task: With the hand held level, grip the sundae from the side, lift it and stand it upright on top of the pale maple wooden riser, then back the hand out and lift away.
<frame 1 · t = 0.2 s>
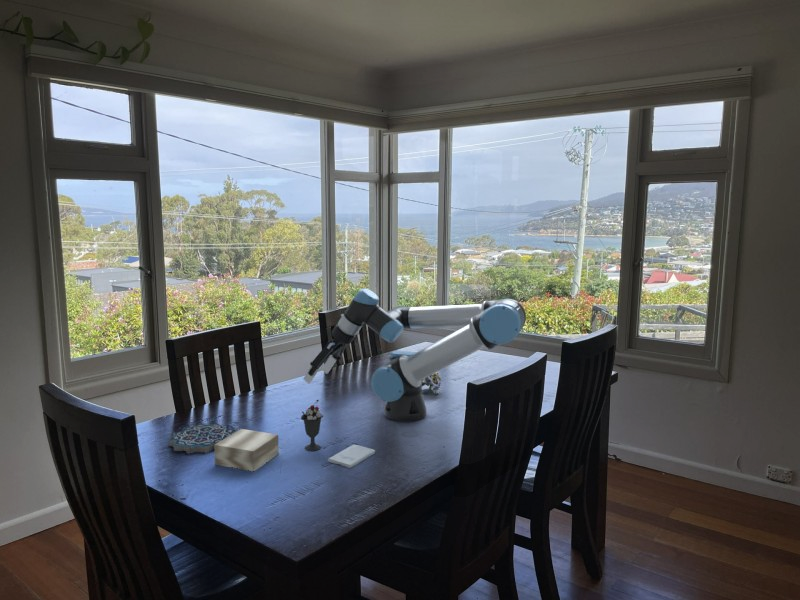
hand: (315, 376, 202), 15 cm above the table, tool tilted 35°, fingers open, 13 cm apart
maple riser: (247, 458, 170), on the table
sundae: (312, 448, 178), on the table
passion flower: (427, 393, 233), on the table
external hard drive: (351, 459, 172), on the table
decorative tile: (203, 442, 183), on the table
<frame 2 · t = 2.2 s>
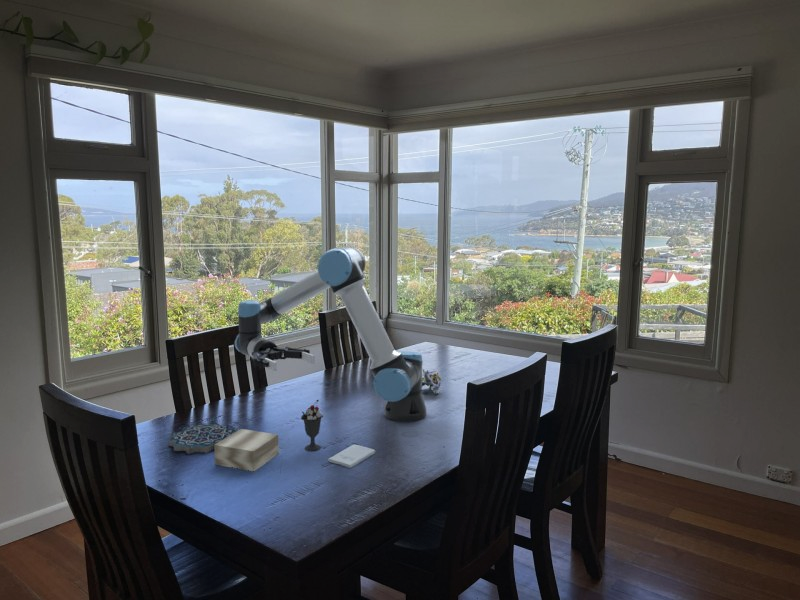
hand: (294, 363, 182), 25 cm above the table, tool horizontal, fingers open, 13 cm apart
nothing on the table moved.
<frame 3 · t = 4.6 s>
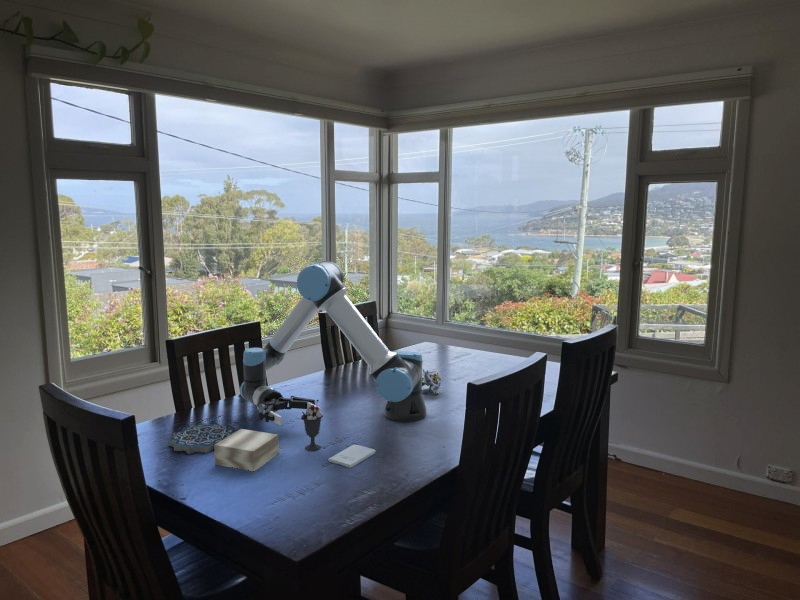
hand: (300, 416, 182), 8 cm above the table, tool horizontal, fingers open, 13 cm apart
nothing on the table moved.
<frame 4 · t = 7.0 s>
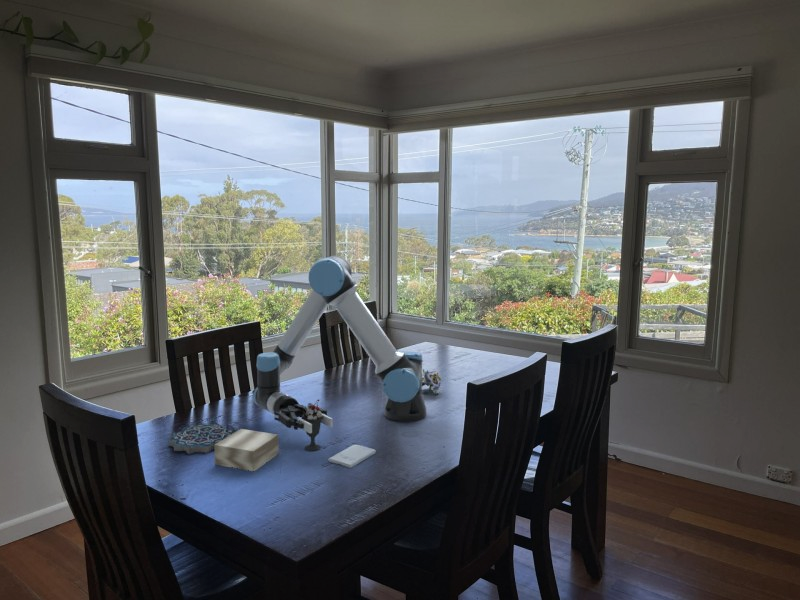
hand: (321, 425, 173), 9 cm above the table, tool horizontal, fingers closed on sundae, 7 cm apart
sundae: (312, 448, 178), on the table, touching gripper
everything else where it was.
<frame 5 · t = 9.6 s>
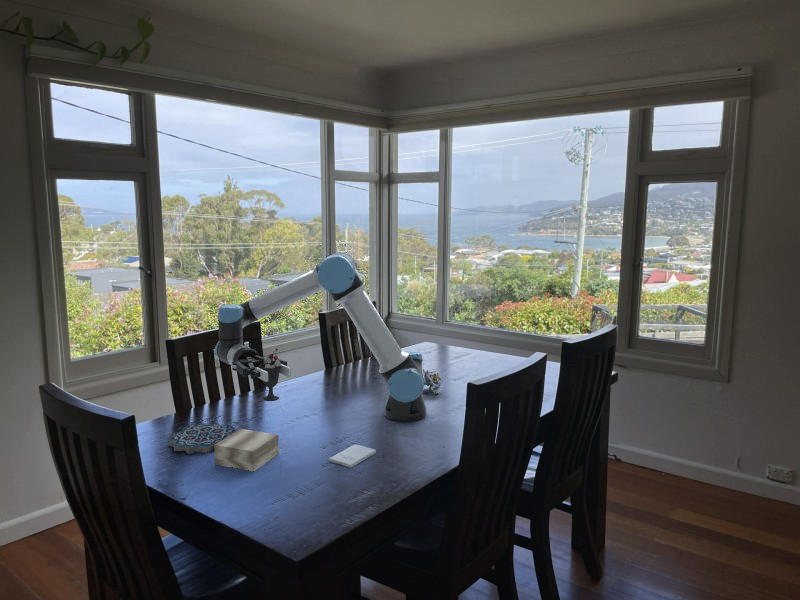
hand: (278, 374, 167), 25 cm above the table, tool horizontal, fingers closed on sundae, 7 cm apart
sundae: (270, 399, 172), point 17 cm above the table, touching gripper
everything else where it was.
when the fingers open (16 cm above the table, at t = 12.4 s): sundae drops 1 cm, resting on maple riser.
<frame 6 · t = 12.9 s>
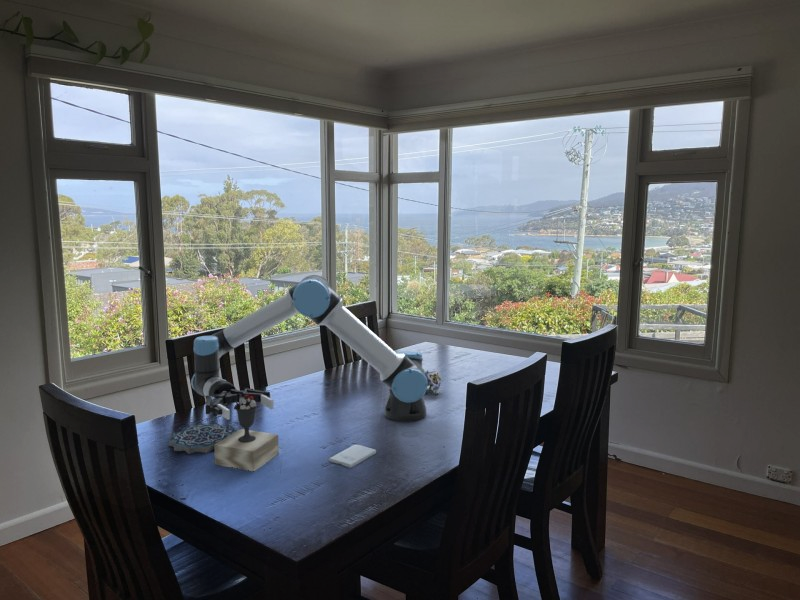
hand: (251, 409, 165), 16 cm above the table, tool horizontal, fingers open, 13 cm apart
sundae: (247, 439, 169), point 6 cm above the table, touching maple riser
everything else where it was.
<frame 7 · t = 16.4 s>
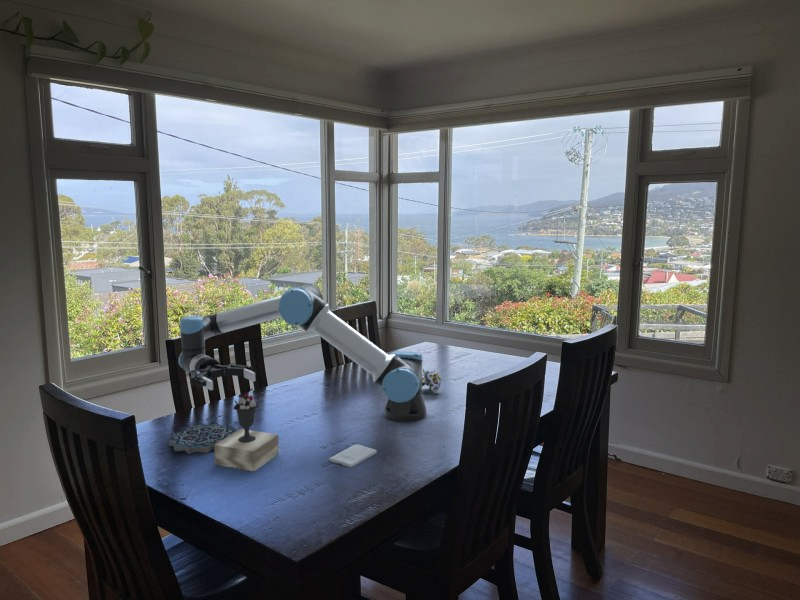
hand: (233, 381, 176), 21 cm above the table, tool horizontal, fingers open, 13 cm apart
nothing on the table moved.
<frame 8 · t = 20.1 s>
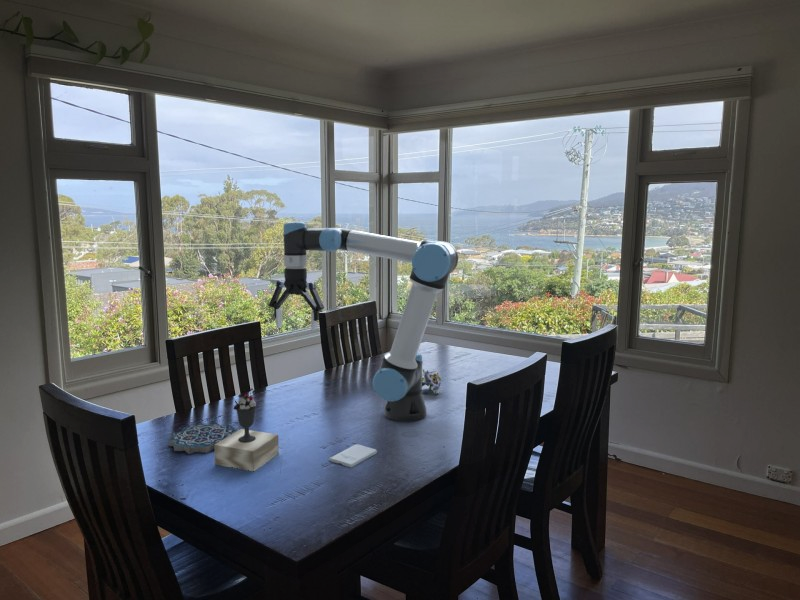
hand: (296, 328, 201), 32 cm above the table, tool pointing down, fingers open, 13 cm apart
nothing on the table moved.
at the end: sundae inside the target area on the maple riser (0.2 cm from its centre), point 5.8 cm above the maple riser's base; sundae tilted 0°; the gripper is holding nothing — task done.
